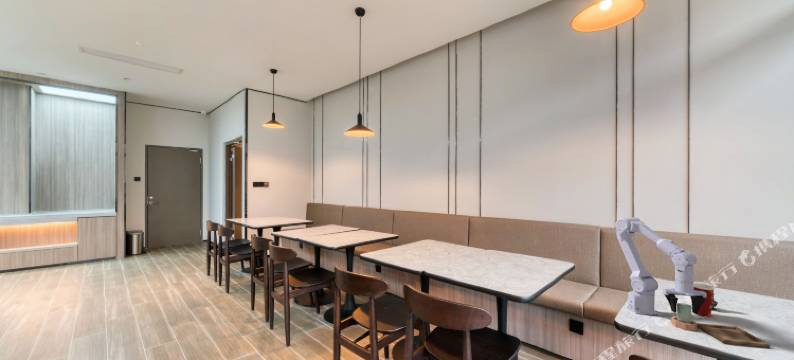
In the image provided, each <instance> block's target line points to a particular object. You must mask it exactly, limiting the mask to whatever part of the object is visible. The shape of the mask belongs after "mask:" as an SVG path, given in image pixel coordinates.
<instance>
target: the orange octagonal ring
mask: <svg viewBox="0 0 794 360" xmlns="http://www.w3.org/2000/svg"><path fill="white" fill-rule="evenodd" d="M671 323H672V324H673V326H674V328H678V329H682V330H685V331H692V332H696V331H697V330H698V327H697V323H698V322H696V321H695V320H693V319H691V324H686V323H682V322H679V321H677V315H673V316H672V317H670V324H671ZM672 324H671V325H672Z"/></svg>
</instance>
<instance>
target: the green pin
mask: <svg viewBox="0 0 794 360" xmlns="http://www.w3.org/2000/svg"><path fill="white" fill-rule="evenodd" d="M676 316H677V321H679V322H682V323H686V324H691V320H692V305H690V304H688V303H684V302H677V311H676Z"/></svg>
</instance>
